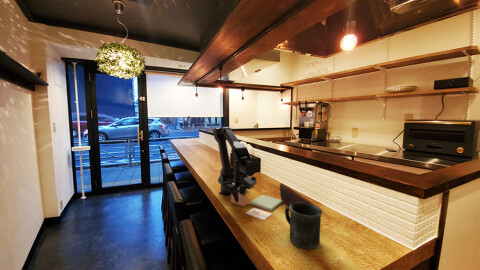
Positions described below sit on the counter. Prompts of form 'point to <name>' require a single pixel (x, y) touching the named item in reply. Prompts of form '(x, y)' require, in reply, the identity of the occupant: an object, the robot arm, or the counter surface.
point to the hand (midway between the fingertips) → (239, 200)
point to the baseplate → (266, 202)
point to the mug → (304, 224)
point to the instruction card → (258, 213)
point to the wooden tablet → (291, 195)
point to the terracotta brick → (240, 200)
